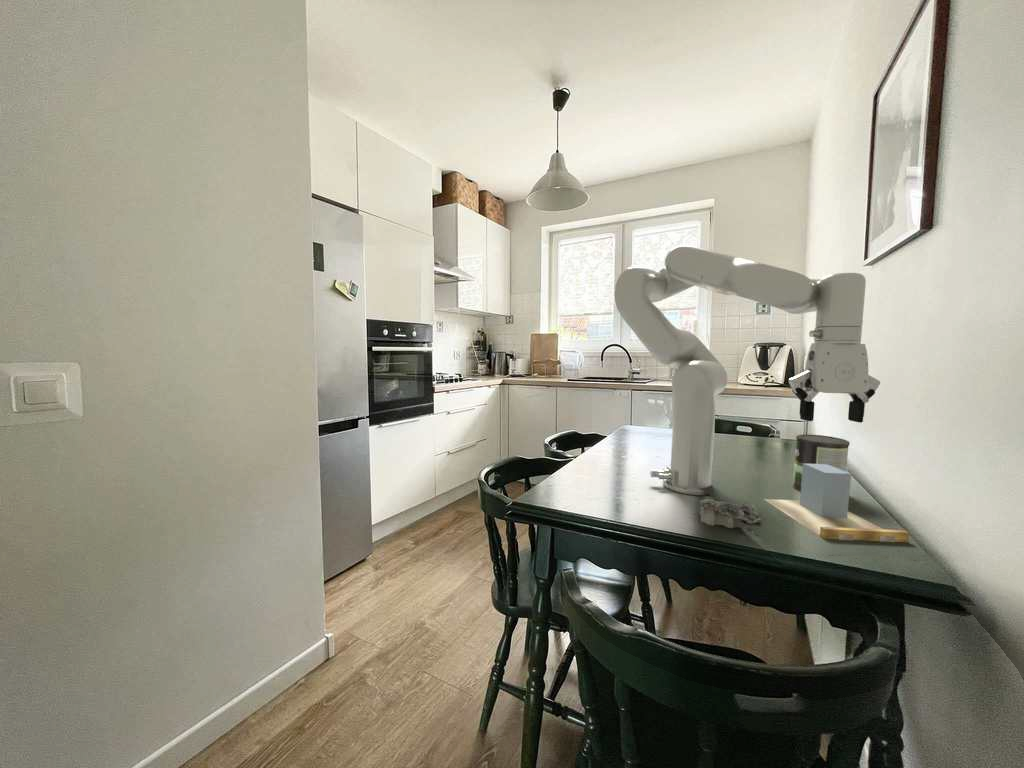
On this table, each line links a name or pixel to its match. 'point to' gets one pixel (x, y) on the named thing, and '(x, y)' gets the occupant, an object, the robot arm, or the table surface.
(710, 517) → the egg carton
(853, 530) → the shelf
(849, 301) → the robot arm
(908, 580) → the table surface
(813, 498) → the carton
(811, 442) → the coffee can
